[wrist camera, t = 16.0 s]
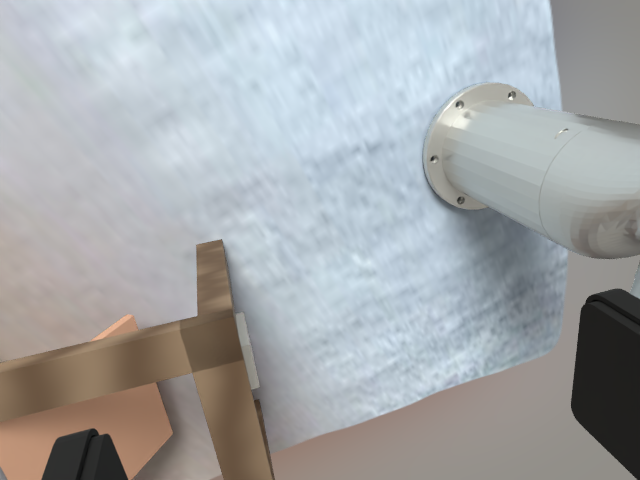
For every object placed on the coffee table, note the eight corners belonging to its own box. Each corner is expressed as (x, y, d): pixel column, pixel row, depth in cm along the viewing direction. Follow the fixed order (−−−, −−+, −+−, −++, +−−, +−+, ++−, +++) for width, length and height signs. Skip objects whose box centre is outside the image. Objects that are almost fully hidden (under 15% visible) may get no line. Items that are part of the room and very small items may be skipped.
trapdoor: (101, 309, 44) (134, 315, 42) (143, 424, 50) (173, 433, 48) (-185, 503, 27) (-151, 526, 26) (-73, 642, 33) (-39, 670, 31)
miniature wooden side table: (221, 239, 45) (233, 316, 32) (262, 415, 54) (284, 532, 41) (-68, 300, 41) (-190, 418, 28) (27, 481, 50) (-32, 634, 37)
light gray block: (194, 358, 43) (194, 323, 48) (207, 401, 45) (205, 363, 50) (249, 344, 43) (243, 311, 49) (259, 387, 45) (252, 351, 51)
